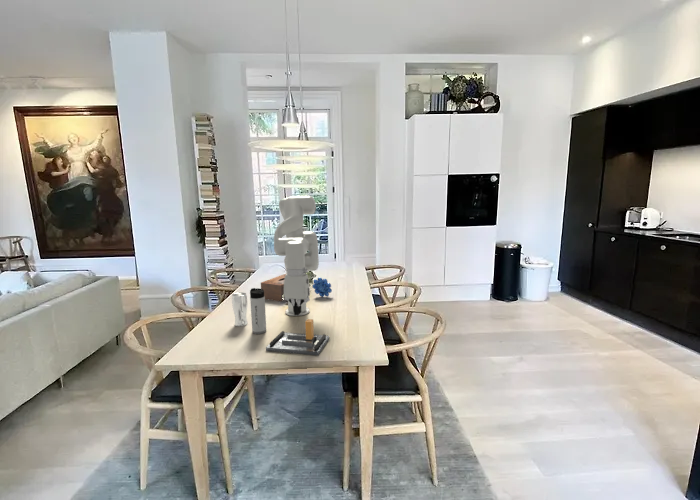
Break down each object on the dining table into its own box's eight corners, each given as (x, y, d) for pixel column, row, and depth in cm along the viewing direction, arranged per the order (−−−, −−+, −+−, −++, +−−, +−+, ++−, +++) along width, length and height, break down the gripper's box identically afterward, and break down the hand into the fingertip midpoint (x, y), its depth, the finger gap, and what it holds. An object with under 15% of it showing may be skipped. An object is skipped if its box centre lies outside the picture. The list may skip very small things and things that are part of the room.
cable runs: (282, 333, 161) (282, 330, 161) (326, 336, 156) (326, 333, 156) (269, 346, 148) (268, 342, 148) (316, 350, 144) (316, 347, 143)
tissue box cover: (281, 302, 211) (280, 285, 209) (261, 298, 217) (260, 282, 216) (305, 290, 234) (305, 275, 232) (287, 288, 240) (286, 273, 238)
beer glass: (233, 322, 179) (231, 293, 176) (247, 320, 181) (246, 291, 179) (234, 327, 172) (231, 297, 170) (249, 325, 175) (247, 295, 172)
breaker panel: (281, 335, 163) (281, 328, 162) (329, 339, 158) (329, 332, 157) (266, 350, 147) (265, 343, 147) (318, 355, 142) (317, 348, 142)
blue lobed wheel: (311, 298, 215) (310, 279, 213) (313, 295, 222) (312, 276, 220) (331, 298, 215) (330, 279, 212) (332, 295, 221) (331, 276, 219)
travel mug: (260, 327, 172) (257, 286, 168) (269, 331, 167) (266, 289, 164) (249, 331, 167) (246, 289, 163) (257, 335, 163) (255, 292, 159)
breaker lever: (308, 339, 153) (307, 318, 152) (314, 340, 152) (314, 319, 151) (305, 343, 150) (304, 321, 148) (312, 343, 149) (311, 322, 147)
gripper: (316, 270, 149) (317, 312, 153) (282, 268, 153) (284, 309, 156) (310, 275, 142) (311, 319, 146) (274, 273, 145) (277, 316, 149)
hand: (297, 314), depth 151 cm, fingers closed
